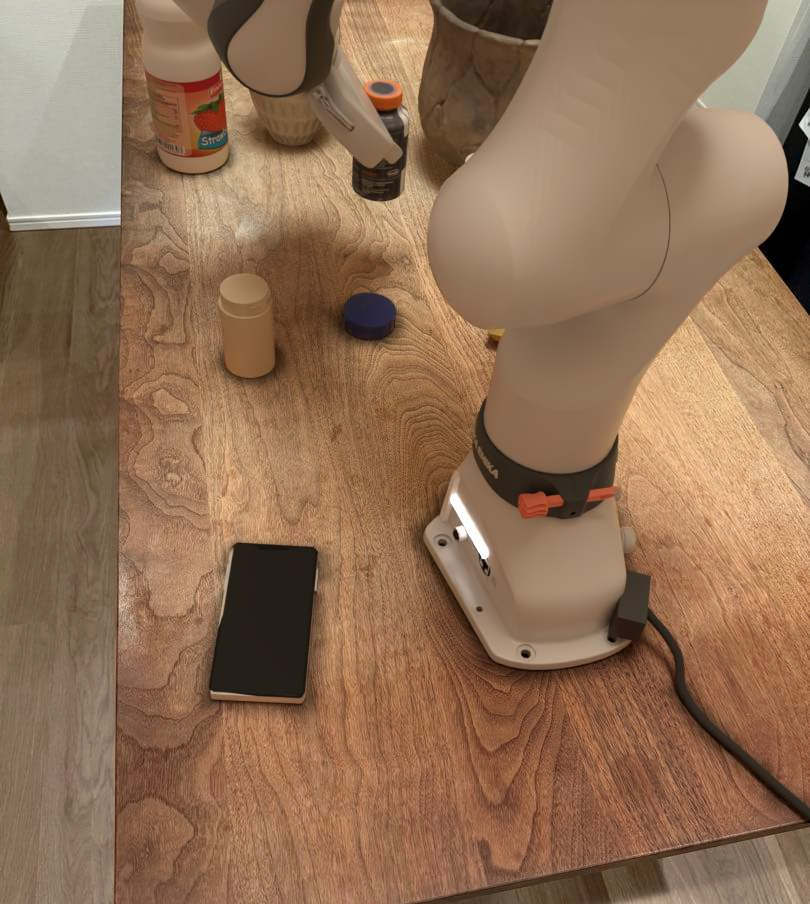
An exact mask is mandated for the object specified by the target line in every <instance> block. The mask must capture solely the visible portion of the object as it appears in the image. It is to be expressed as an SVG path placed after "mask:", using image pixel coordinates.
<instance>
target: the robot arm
mask: <svg viewBox="0 0 810 904" xmlns="http://www.w3.org/2000/svg"><path fill="white" fill-rule="evenodd" d="M173 1H174V2H175V4H176V5H177V6H178V7H179V8H180V9H181V10H182V11H183V12H184V13H185V14H187V15H188V16H189V17H190V18H191V19H192V20H193V21H194V22H195V23H196V24H197V25H198V26H199V27H201V28H202V29H203V30H204V31H205V32H206V33H207V34H208V35H209V38H210V40H211V42H212V44H213V46H214V49H215V51H216V52H217V54H218V56H219V57H220V59H221V62H222V64H223V66H224V67H225V68H226V69H227V71H228V72H229V73H230V74H231V75H232V77H233V78H234V79H235V81H237V82H238V83H239V84H240V85H241V86H243V87H244V88H246V89H247V90H248V91H249V90H251V91H253V92H255V93H257V94H259V95H263V96H266V97H273V98H280V99H282V100H292V99H295V98H297V97H298V98H299V99H301V100H307V99H309V101H310V103H311V105H312V107H313V109H314V111H315V113H316V115H317V117H318V118H319V120H320V121H321V123H322V126H324V128H325V129H326V130H327V131H328V132H329V133H330V134H331V136H332V137H334V138H335V140H337V141H338V143H340V144H341V146H343V147H344V148H345V149H346V151H348V153H350V154H351V155H352V157H353V156H354V157H355V158H356V159H357V160H358V161H359V162H360V163H361V164H362V165H364V166H365V167H368V168H373V167H375V166H376V165H377V164H378V163H379V162H380V161H381V160H382V159H383V158H385V159H386V160H387V161H388V162H389V163H390V164H393V163H395V162H396V161H397V160H398V159H399V158H400V157H401V156H402V154H403V152H402V150H401V148H400V146H399V145H398V143H397V142H395V140H394V139H393V138H392V137H391V136H390V134H389V132H388V130H387V129H386V127H385V125H384V123H383V121H382V120H381V118H380V116H379V114H378V112H377V111H376V109H375V107H374V105H373V103H372V102H371V100H370V98H369V97H368V95H367V93H366V92H365V90H364V85H363V84H362V82H361V80H360V78H359V77H358V75H357V73H356V71H355V70H354V68H353V66H352V64H351V63H350V61H349V59H348V57H347V55H346V53H345V52H344V49H343V48H342V46H341V44H340V45H339V36H340V37H341V30H340V31H339V26H338V24H339V20H340V21H341V16H342V11H343V8H344V3H345V0H173ZM768 3H769V0H553V4H552V7H551V10H550V14H549V17H548V21H547V24H546V27H545V29H544V32H543V35H542V38H541V40H540V43H539V45H538V48H537V50H536V52H535V54H534V57H533V59H532V61H531V63H530V66H529V68H528V70H527V72H526V74H525V76H524V78H523V80H522V82H521V84H520V86H519V88H518V89H517V91H516V93H515V95H514V97H513V99H512V101H511V102H510V104H509V106H508V107H507V109H506V111H505V112H504V114H503V116H502V117H501V119H500V120H499V122H498V123H497V125H496V126H495V128H494V129H493V130H492V132H491V133H490V135H489V136H488V137H487V138H486V140H485V141H484V142H483V143H482V145H481V146H480V147H479V149H478V150H477V151H476V152H475V153H474V154H473V155H472V156H471V157H470V158H469V159H468V160H467V161H466V163H465V164H463V165H462V166H461V167H460V168H459V169H458V168H457V169H456V170H455V172H453V174H451V175H450V176H449V177H448V178H447V179H446V180H444V182H443V183H442V185H441V187H440V188H439V190H438V192H437V194H436V196H435V199H434V200H433V204H432V207H431V210H430V214H429V217H428V224H427V231H426V251H427V258H428V259H427V260H428V264H429V268H430V272H431V275H432V277H433V280H434V282H435V284H436V286H437V289H438V290H439V292H440V294H441V296H442V297H443V298H444V300H445V301H446V303H447V304H448V305H449V306H450V308H451V309H452V310H453V311H454V312H455V313H456V314H457V315H458V316H459V317H461V318H462V319H463V320H464V321H466V322H467V323H469V324H470V325H472V326H473V327H475V328H478V329H481V330H487V331H488V330H489V329H505V331H504V333H503V334H502V337H501V339H500V341H499V342H498V345H497V347H496V353H495V357H494V362H493V367H492V371H491V376H490V381H489V386H488V391H487V395H486V396H485V398H484V399H483V400H482V403H481V405H480V407H479V410H478V412H477V414H476V417H475V420H474V424H473V431H472V432H473V434H472V441H471V443H472V445H471V446H472V447H471V449H470V450H469V452H467V455H466V456H465V457H464V459H463V460H462V461H461V463H460V464H459V465H458V467H457V468H456V469H454V472H453V474H452V475H451V477H450V481H449V484H448V486H447V490H446V493H445V497H444V500H443V503H442V507H441V510H440V512H439V514H438V515H437V516H436V517H434V518H433V519H432V520H431V521H430V522H429V523H428V524H427V525H426V527H425V529H424V531H423V535H422V540H423V543H424V545H425V546H426V548H427V550H428V551H429V553H430V555H431V557H432V559H433V560H434V562H435V564H436V566H437V567H438V569H439V571H440V573H441V574H442V576H443V579H445V581H446V583H447V585H448V587H449V588H450V590H451V592H452V594H453V595H454V598H455V599H456V601H457V603H458V604H459V606H460V608H461V609H462V611H463V613H464V615H465V616H466V618H467V620H468V622H469V623H470V626H471V627H472V629H473V631H474V632H475V634H476V636H477V638H478V639H479V641H480V643H481V644H482V647H483V648H484V650H485V651H486V653H487V655H488V657H490V659H491V660H492V661H493V662H495V663H497V664H500V665H502V666H503V665H504V666H507V667H510V668H515V669H520V670H528V671H529V670H531V671H545V670H546V671H547V670H558V669H566V668H572V667H573V668H574V667H578V666H582V665H587V664H591V663H593V662H594V663H595V662H597V661H599V660H603V659H606V658H608V657H611V656H613V655H614V654H616V653H618V652H620V651H621V650H623V649H624V648H626V647H627V646H628V645H629V644H630V643H632V642H636V643H637V642H638V640H639V638H640V636H641V635H642V633H643V631H644V630H645V628H646V626H647V623H649V624H650V625H651V626H652V627H653V628H654V629H655V630H656V631H657V632H658V634H659V635H660V636H661V637H662V639H663V640H664V642H665V643H666V645H667V646H668V648H669V650H670V652H671V655H672V658H673V660H674V674H675V675H674V676H675V677H674V678H675V685H676V688H677V692H678V694H679V696H680V697H681V700H682V702H683V703H684V704H685V706H686V707H687V709H688V711H689V712H690V713H691V715H692V716H693V718H695V719H696V720H697V722H698V723H699V724H700V725H701V726H702V727H703V728H704V730H706V731H707V732H708V733H709V734H711V736H712V737H714V738H715V739H716V740H717V741H718V742H720V743H721V744H722V745H723V746H724V747H725V748H727V749H728V751H730V752H731V753H733V755H735V756H736V757H737V758H739V759H740V761H742V762H743V763H744V764H745V765H746V766H747V767H748V769H750V770H751V771H753V773H755V775H756V776H758V777H759V778H760V779H761V780H762V781H763V782H764V783H766V785H768V786H769V787H770V789H772V790H773V791H774V792H776V793H777V794H778V795H779V796H780V797H781V798H782V799H784V800H785V801H786V802H787V803H788V804H789V805H791V806H792V807H793V808H794V809H795V810H797V811H798V812H799V813H800V814H801V815H803V816H804V817H805V818H806V819H807V820H809V821H810V807H809V806H808V805H807V804H806V803H805V802H804V801H802V800H801V799H800V798H799V797H798V796H797V795H795V794H794V793H793V792H792V791H791V790H790V789H788V788H787V787H786V786H785V785H784V784H782V783H781V782H780V781H779V780H778V779H776V777H775V776H773V775H772V774H771V773H770V772H769V771H767V769H765V768H764V767H763V766H762V765H761V764H760V763H759V762H758V761H757V760H756V759H755V758H753V756H751V755H750V754H749V753H748V752H747V751H746V750H745V749H743V748H742V746H740V745H739V744H738V743H737V742H735V741H734V740H733V739H732V738H731V737H729V736H728V735H727V734H726V733H725V732H723V731H722V730H721V729H720V728H719V727H718V726H716V725H715V723H713V722H712V721H711V720H710V718H708V717H707V715H706V714H705V713H704V712H703V711H702V710H701V709H700V707H699V706H698V705H697V703H696V701H695V700H694V698H693V697H692V694H691V693H690V692H689V690H688V688H687V687H688V686H687V684H686V674H685V672H686V671H685V661H684V659H685V658H684V656H683V653H682V650H681V647H680V646H679V644H678V642H677V640H676V639H675V638H674V636H673V635H672V633H671V632H670V630H669V629H668V628H667V627H666V625H665V624H664V623H663V622H662V621H661V620H660V619H659V618H658V616H657V615H656V614H655V613H654V611H652V609H651V608H650V607H649V605H650V604H649V602H650V593H651V592H650V590H651V581H652V576H651V575H650V574H645V573H641V572H637V571H633V570H629V569H626V561H625V560H626V559H625V554H631V553H632V552H635V551H634V550H635V548H636V544H637V537H636V531H635V529H634V528H633V527H631V526H620V520H619V512H618V507H617V502H620V501H621V499H622V489H621V487H620V486H617V485H614V484H615V483H614V482H615V475H616V468H617V467H616V466H617V463H618V460H619V442H620V441H619V440H620V439H619V438H620V437H619V431H620V429H621V426H622V424H623V422H624V420H625V418H626V415H627V413H628V410H629V408H630V405H631V403H632V401H633V399H634V396H635V395H636V392H637V389H638V387H639V386H640V384H641V381H642V380H643V378H644V376H645V375H646V373H647V371H648V370H649V369H650V367H651V365H652V364H653V363H654V361H655V360H656V358H658V356H659V354H660V353H661V352H662V351H663V349H664V348H665V346H666V345H667V344H668V343H669V342H670V341H671V339H672V337H674V335H675V334H676V332H677V331H679V329H680V328H681V327H682V325H683V324H684V322H685V321H686V320H687V319H688V318H689V317H690V315H692V312H694V310H695V309H696V308H697V307H698V305H699V304H700V303H701V302H702V301H703V300H704V298H705V297H706V296H707V295H708V293H709V292H710V291H711V290H712V289H713V288H714V287H715V286H716V285H717V283H718V282H719V281H720V280H721V279H722V278H723V277H724V276H726V274H727V273H728V272H730V271H731V269H733V268H734V267H735V266H736V265H737V264H738V263H739V262H741V261H742V260H743V259H744V258H745V257H746V256H748V255H749V254H750V253H751V252H752V251H754V250H755V249H757V248H758V247H759V246H760V245H761V244H763V243H764V242H765V241H767V239H768V238H769V237H770V236H771V235H772V233H773V232H774V231H775V229H776V227H777V226H778V224H779V223H780V220H781V218H782V216H783V213H784V210H785V207H786V204H787V199H788V192H789V170H788V169H789V168H788V163H787V157H786V155H785V151H784V148H783V146H782V144H781V142H780V141H781V140H779V137H778V136H777V134H776V132H775V131H774V130H773V128H772V127H771V126H770V125H769V124H768V123H767V122H766V121H765V120H764V119H763V118H762V117H759V116H758V115H756V114H755V113H753V112H749V111H748V110H747V111H746V110H743V109H742V110H740V109H732V108H731V109H729V108H719V107H698V106H697V107H695V106H694V105H695V103H696V102H697V101H698V100H699V99H700V97H702V95H703V94H704V93H705V92H706V91H707V90H708V89H709V87H711V86H712V85H713V84H714V83H715V82H716V81H717V80H719V78H720V77H722V76H723V75H724V74H725V73H726V72H728V70H729V69H730V68H732V67H733V66H734V65H735V64H736V62H737V61H738V60H739V59H740V58H741V57H742V56H743V54H744V53H745V52H746V50H747V49H748V48H749V46H750V45H751V44H752V42H753V40H754V38H755V37H756V35H757V33H758V31H759V29H760V27H761V24H762V22H763V19H764V16H765V12H766V9H767V6H768ZM693 106H694V107H693ZM440 544H442V545H440ZM443 545H444V546H443ZM609 639H612V641H613V642H612V641H610V640H609ZM523 654H525V655H527V657H524V656H522V655H523Z"/></svg>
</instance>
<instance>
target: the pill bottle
mask: <svg viewBox="0 0 810 904" xmlns="http://www.w3.org/2000/svg"><path fill="white" fill-rule="evenodd" d="M363 87H364V90H365V92H366V93H367V95H368V97H369V98H370V100H371V102H372V103H373V105H374V107H375V109H376V111H377V112H378V114H379V116H380V118H381V120H382V121H383V123H384V125H385V127H386V129H387V130H388V132H389V134H390V136H391V137H392V138H393V139H394V140H395V142H397V143H398V145H399V146H400V148H401V150H402V152H403V154H402V156H401V157H400V158H399V159H398V160H397V161H396V162H395V163H393V164H390V163H389V162H388V161H387V160H386V159H385V158H383V159H382V160H381V161H380V162H379V163H378V164H377V165H376V166H375V167H373V168H368V167H365V166H364V165H362V164H361V163H360V162H359V161H358V160H357V159H356V158H355V157H354V156H353V155H352V163H351V165H352V166H351V167H352V169H351V188H352V190H353V191H354V193H355V194H356V195H357V196H359V197H361V198H362V199H364V200H368V201H370V202H377V203H382V202H385V203H386V202H390V201H394V200H395V199H398V198H399V197H401V195H402V194H403V193H404V190H405V185H406V172H407V161H408V149H409V135H410V120H411V118H410V113H409V110H408V109H407V107H406V106H405V105H404V104H403V101H404V99H403V94H404V93H403V92H404V90H403V87H402V86H401V85H400V84H399V83H397V82H396V81H393V80H390V79H382V78H378V79H372V80H370V81H368V82H366V83H365V84H364V85H363Z"/></svg>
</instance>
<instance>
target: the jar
mask: <svg viewBox="0 0 810 904" xmlns="http://www.w3.org/2000/svg"><path fill="white" fill-rule="evenodd" d="M217 303H218V304H217V305H218V306H217V307H218V313H219V315H218V316H219V323H220V332H221V339H222V347H223V348H222V349H223V356H224V364H225V367H226V368H227V371H229V372H230V373H231V374H232V375H234V376H236V377H239V378H245V379H256V378H260V377H263V376H265V375H267V374H269V373H270V372H271V371H272V370H273V369H274V367H275V365H276V346H275V343H276V342H275V327H274V325H275V324H274V309H273V308H274V307H273V298H272V295H271V290H270V286H269V284H268V283H267V281H266V280H265V279H264V278H262V277H261V276H260V275H257V274H253V273H248V272H247V273H245V272H240V273H235V274H231V275H229V276H227V277H226V278H224V279H223V280H222V282H221V283H220V286H219V296H218V300H217Z"/></svg>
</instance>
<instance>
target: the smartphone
mask: <svg viewBox="0 0 810 904" xmlns="http://www.w3.org/2000/svg"><path fill="white" fill-rule="evenodd" d="M318 563H319V551H318V550H317V549H316V548H315V546H308V545H289V544H275V543H274V544H273V543H257V542H256V543H254V542H241V541H240V542H235V543H233V545H232V546H231V547H230V552H229V553H228V559H227V564H226V570H225V576H224V581H223V589H222V591H223V596H222V602H221V607H220V608H221V609H220V614H219V615H220V616H219V621H218V625H217V626H218V627H217V632H216V639H215V643H214V651H213V658H212V664H211V669H210V676H209V682H208V691H209V695H210V698H211V700H217V701H218V700H219V701H237V702H238V701H240V702H259V703H260V702H261V703H278V704H279V703H281V704H299V705H300V704H302V703H303V702H304V701H305V699H306V695H307V694H306V693H307V682H308V673H309V662H310V661H309V660H310V652H311V651H310V650H311V640H312V628H313V618H314V617H313V616H314V606H315V595H317V589H318V582H319V581H318V579H319V568H318V565H319V564H318Z"/></svg>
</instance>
